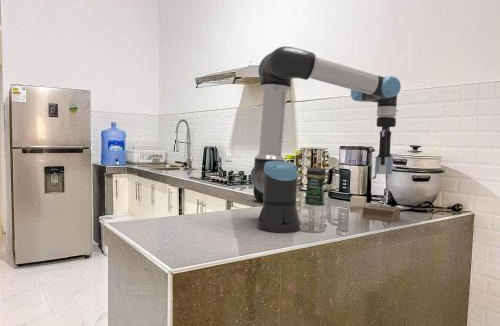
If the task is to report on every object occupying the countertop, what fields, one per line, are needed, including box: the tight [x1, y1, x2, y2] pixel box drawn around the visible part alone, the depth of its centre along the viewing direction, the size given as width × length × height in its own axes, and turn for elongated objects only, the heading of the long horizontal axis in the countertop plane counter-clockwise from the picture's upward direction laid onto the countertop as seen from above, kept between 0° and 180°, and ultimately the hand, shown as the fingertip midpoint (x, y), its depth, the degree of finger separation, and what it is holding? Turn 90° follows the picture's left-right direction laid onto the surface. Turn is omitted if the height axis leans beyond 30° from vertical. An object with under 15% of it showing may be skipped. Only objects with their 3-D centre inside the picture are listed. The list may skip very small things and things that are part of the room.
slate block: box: [374, 156, 394, 175], centre depth 163 cm, size 6×6×7 cm
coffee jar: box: [304, 167, 327, 206], centre depth 199 cm, size 10×8×19 cm
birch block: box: [349, 195, 368, 214], centre depth 179 cm, size 6×6×7 cm
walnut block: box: [362, 204, 401, 223], centre depth 164 cm, size 12×12×5 cm
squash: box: [253, 186, 263, 203], centre depth 200 cm, size 14×15×15 cm
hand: (383, 172), depth 163 cm, fingers closed on slate block, 6 cm apart
